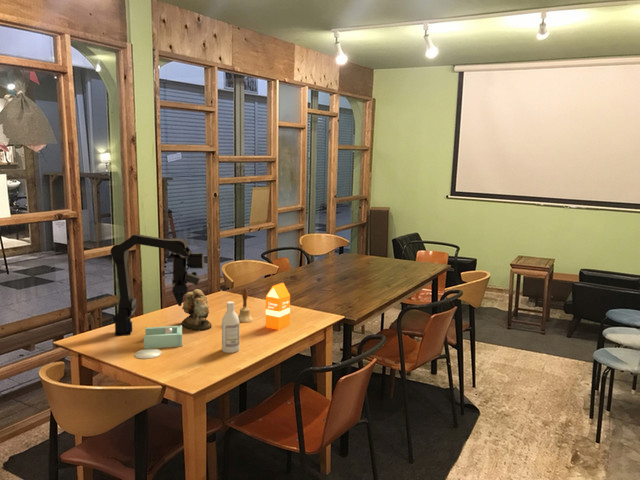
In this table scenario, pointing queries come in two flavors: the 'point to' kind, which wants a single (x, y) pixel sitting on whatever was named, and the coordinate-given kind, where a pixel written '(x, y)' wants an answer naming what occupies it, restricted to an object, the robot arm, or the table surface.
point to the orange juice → (278, 307)
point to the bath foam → (230, 330)
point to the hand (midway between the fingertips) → (179, 303)
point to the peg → (168, 330)
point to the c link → (162, 337)
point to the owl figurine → (196, 311)
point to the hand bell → (245, 309)
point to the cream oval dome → (147, 353)
